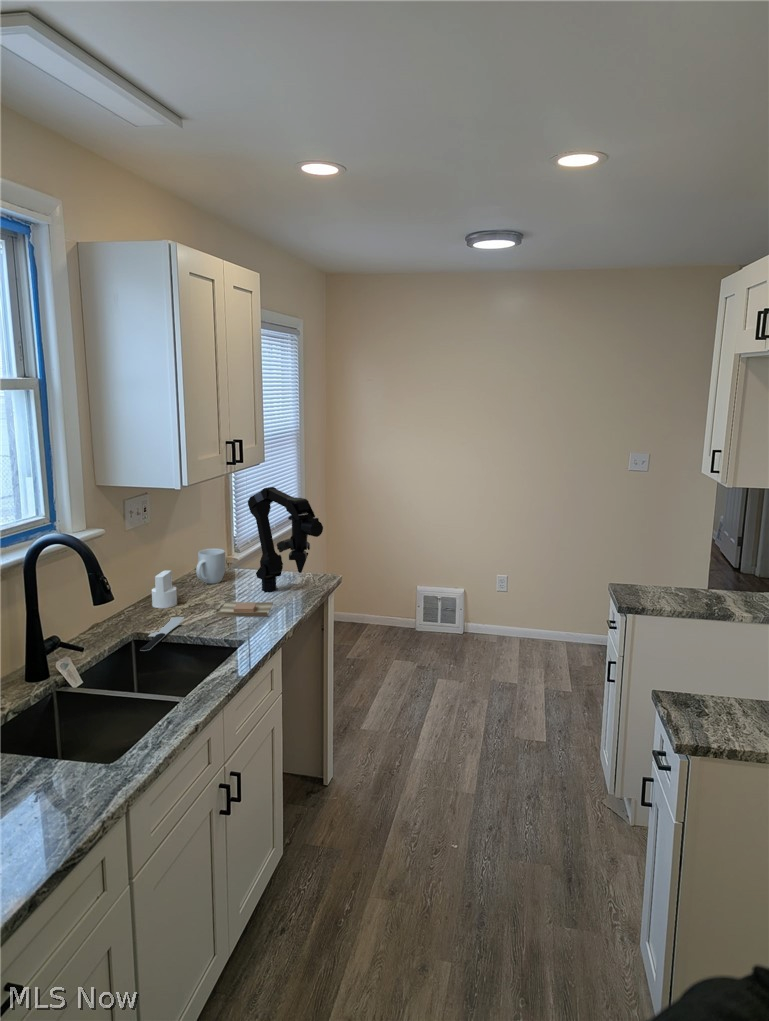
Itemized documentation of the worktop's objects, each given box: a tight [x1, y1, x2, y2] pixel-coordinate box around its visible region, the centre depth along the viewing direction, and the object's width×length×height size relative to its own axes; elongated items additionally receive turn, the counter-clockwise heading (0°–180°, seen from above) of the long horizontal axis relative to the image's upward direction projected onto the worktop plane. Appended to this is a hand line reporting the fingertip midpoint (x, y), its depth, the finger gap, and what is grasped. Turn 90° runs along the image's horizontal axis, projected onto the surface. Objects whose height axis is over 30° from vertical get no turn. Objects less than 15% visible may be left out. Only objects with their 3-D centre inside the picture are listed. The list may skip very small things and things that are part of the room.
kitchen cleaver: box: [139, 616, 185, 653], centre depth 228 cm, size 31×2×10 cm
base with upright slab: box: [151, 570, 178, 609], centre depth 257 cm, size 9×9×12 cm
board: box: [215, 601, 274, 618], centre depth 250 cm, size 16×18×2 cm
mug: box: [195, 548, 226, 585], centre depth 285 cm, size 15×11×13 cm
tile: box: [234, 603, 256, 612], centre depth 249 cm, size 2×7×7 cm
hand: (300, 572), depth 259 cm, fingers closed
